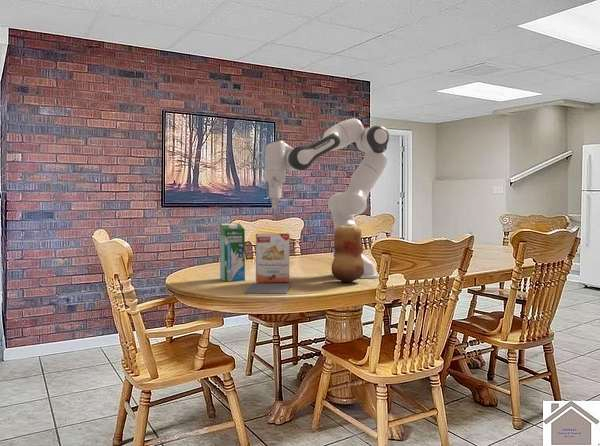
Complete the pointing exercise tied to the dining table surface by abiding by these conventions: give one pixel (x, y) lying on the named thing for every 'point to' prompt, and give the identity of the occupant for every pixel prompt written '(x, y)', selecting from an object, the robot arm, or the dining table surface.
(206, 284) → the dining table surface
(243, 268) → the milk carton
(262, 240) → the cracker box
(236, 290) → the dining table surface
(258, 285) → the mat
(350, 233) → the butternut squash
